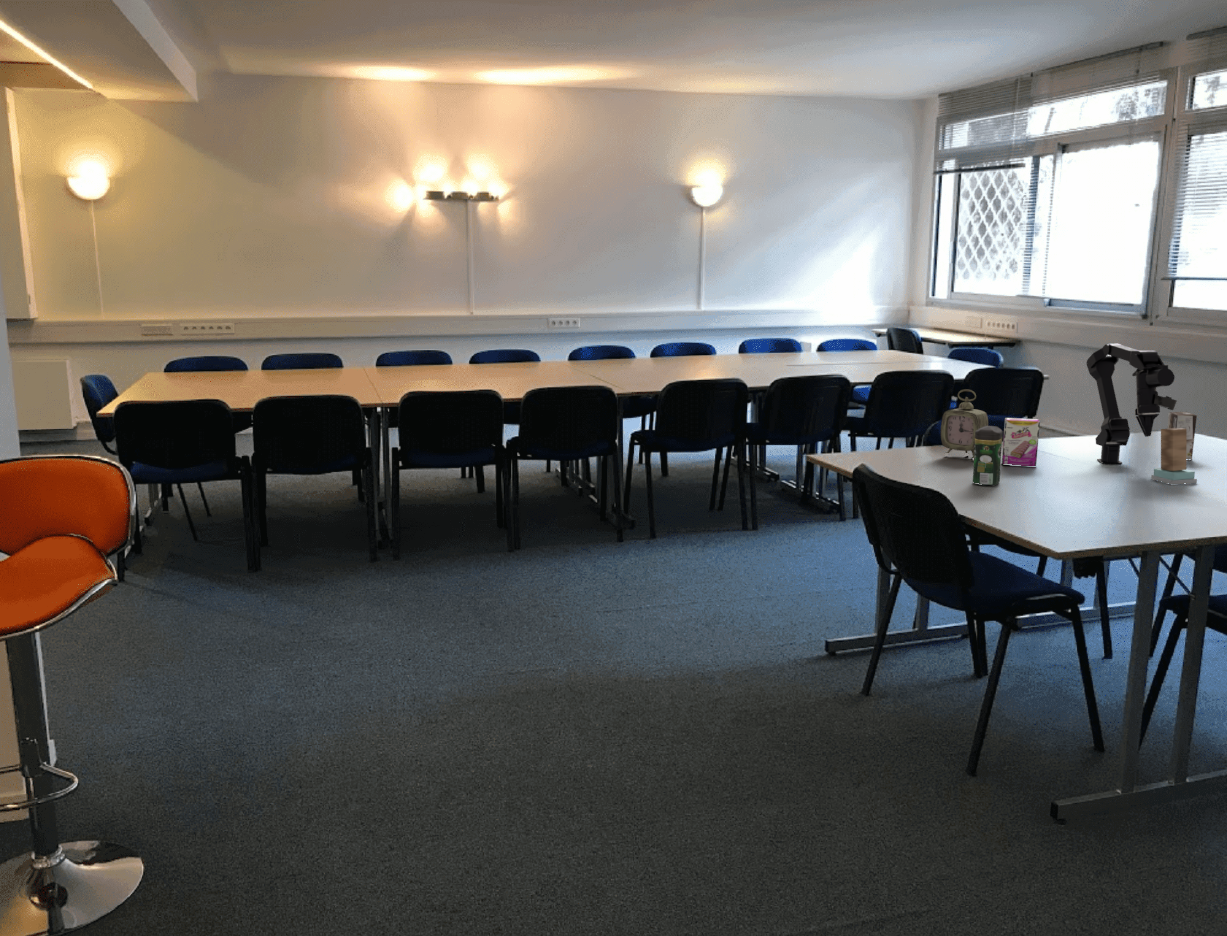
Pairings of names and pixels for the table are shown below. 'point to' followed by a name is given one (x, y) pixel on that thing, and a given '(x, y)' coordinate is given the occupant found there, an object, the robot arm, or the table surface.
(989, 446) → the coffee jar
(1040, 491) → the table surface
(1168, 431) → the walnut pillar
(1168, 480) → the tower base block
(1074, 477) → the table surface
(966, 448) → the tabletop clock
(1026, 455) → the candy bar box
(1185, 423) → the coffee box
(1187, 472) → the tower top block
